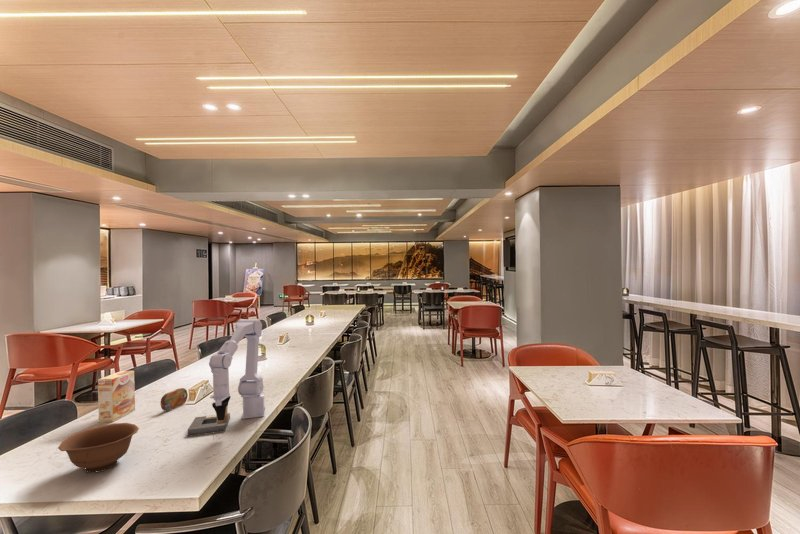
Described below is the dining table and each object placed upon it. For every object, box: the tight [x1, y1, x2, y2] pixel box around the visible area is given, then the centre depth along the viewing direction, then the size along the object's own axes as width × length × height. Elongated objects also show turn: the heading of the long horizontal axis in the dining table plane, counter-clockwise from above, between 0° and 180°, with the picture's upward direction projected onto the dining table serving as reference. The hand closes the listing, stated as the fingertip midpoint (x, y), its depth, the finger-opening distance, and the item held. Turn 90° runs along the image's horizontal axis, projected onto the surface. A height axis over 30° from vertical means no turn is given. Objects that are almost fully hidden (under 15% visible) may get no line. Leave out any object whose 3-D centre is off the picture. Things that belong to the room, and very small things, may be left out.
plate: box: [187, 413, 231, 437], centre depth 165 cm, size 14×14×3 cm
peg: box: [217, 406, 228, 424], centre depth 155 cm, size 4×4×6 cm
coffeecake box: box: [97, 370, 136, 423], centre depth 182 cm, size 15×7×20 cm, turn 0°
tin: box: [160, 387, 189, 412], centre depth 191 cm, size 15×3×8 cm, turn 168°
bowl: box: [57, 422, 140, 473], centre depth 134 cm, size 22×22×11 cm
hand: (222, 417), depth 155 cm, fingers closed on peg, 4 cm apart
